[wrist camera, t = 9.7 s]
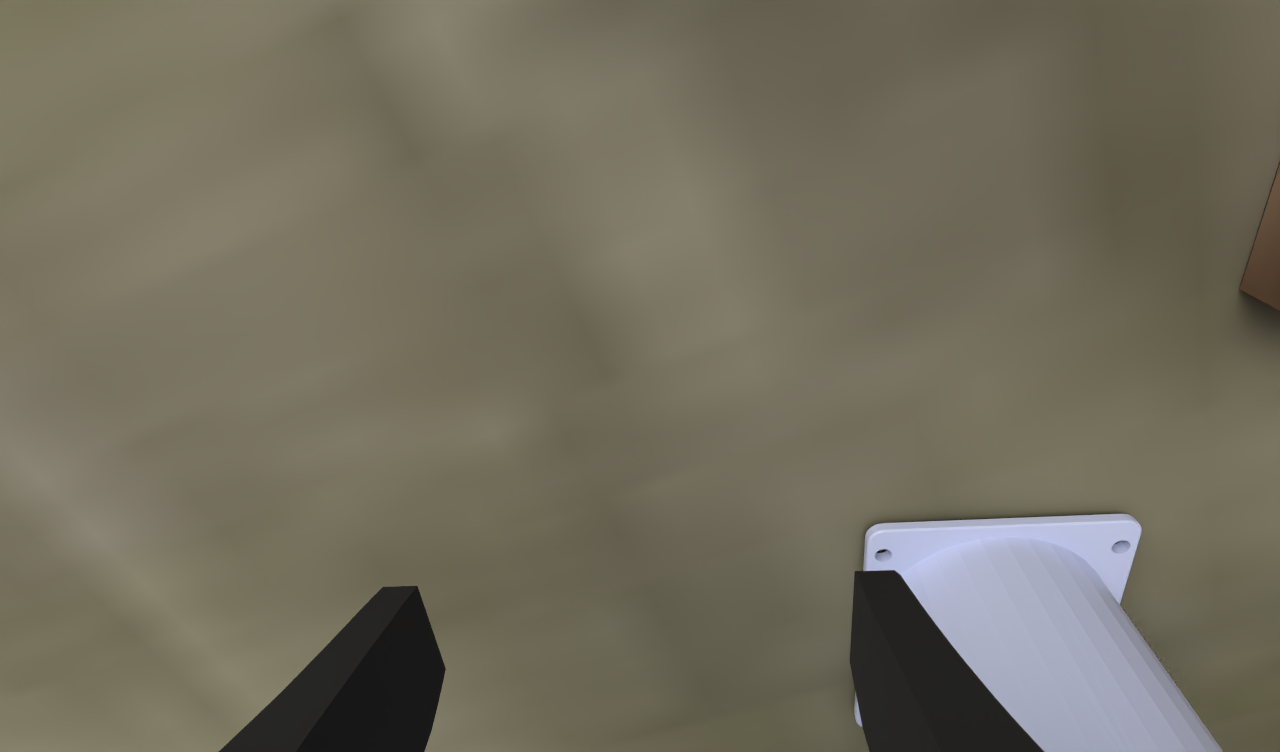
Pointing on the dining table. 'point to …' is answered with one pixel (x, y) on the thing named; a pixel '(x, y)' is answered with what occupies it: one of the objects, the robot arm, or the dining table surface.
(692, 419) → the dining table surface
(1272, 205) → the walnut base
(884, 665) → the robot arm
